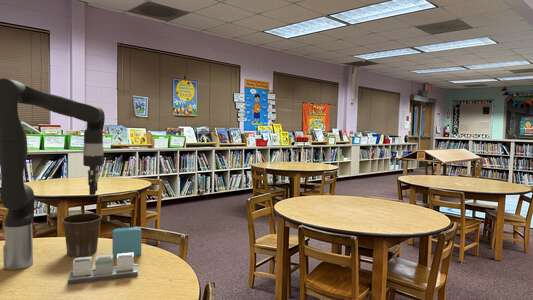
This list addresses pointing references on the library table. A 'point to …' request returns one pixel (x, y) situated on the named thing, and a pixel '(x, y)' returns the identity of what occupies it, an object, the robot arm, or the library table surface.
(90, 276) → the rail
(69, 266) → the library table surface
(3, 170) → the robot arm
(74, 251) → the plant pot
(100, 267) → the block
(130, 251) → the data package
